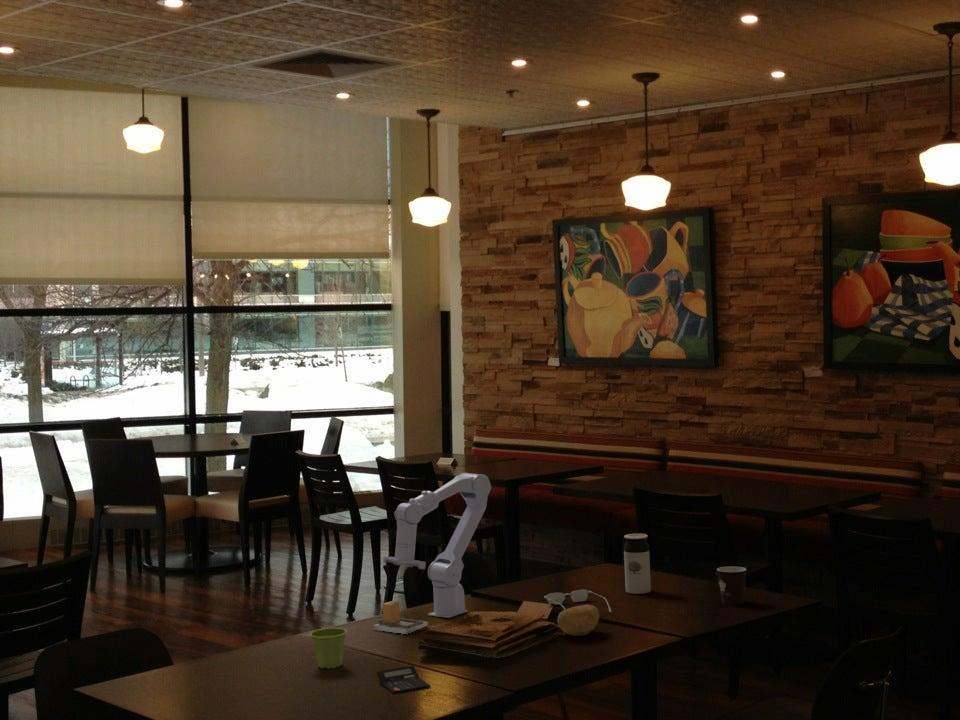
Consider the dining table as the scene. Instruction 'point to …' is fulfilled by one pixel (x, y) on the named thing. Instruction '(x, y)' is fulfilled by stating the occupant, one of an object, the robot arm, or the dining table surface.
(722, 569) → the coffee mug
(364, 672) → the dining table surface
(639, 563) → the travel mug
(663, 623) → the dining table surface
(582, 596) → the eyeglasses
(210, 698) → the dining table surface
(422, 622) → the console plate
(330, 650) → the plant pot
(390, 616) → the tan upright block
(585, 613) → the potato
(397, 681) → the calculator
